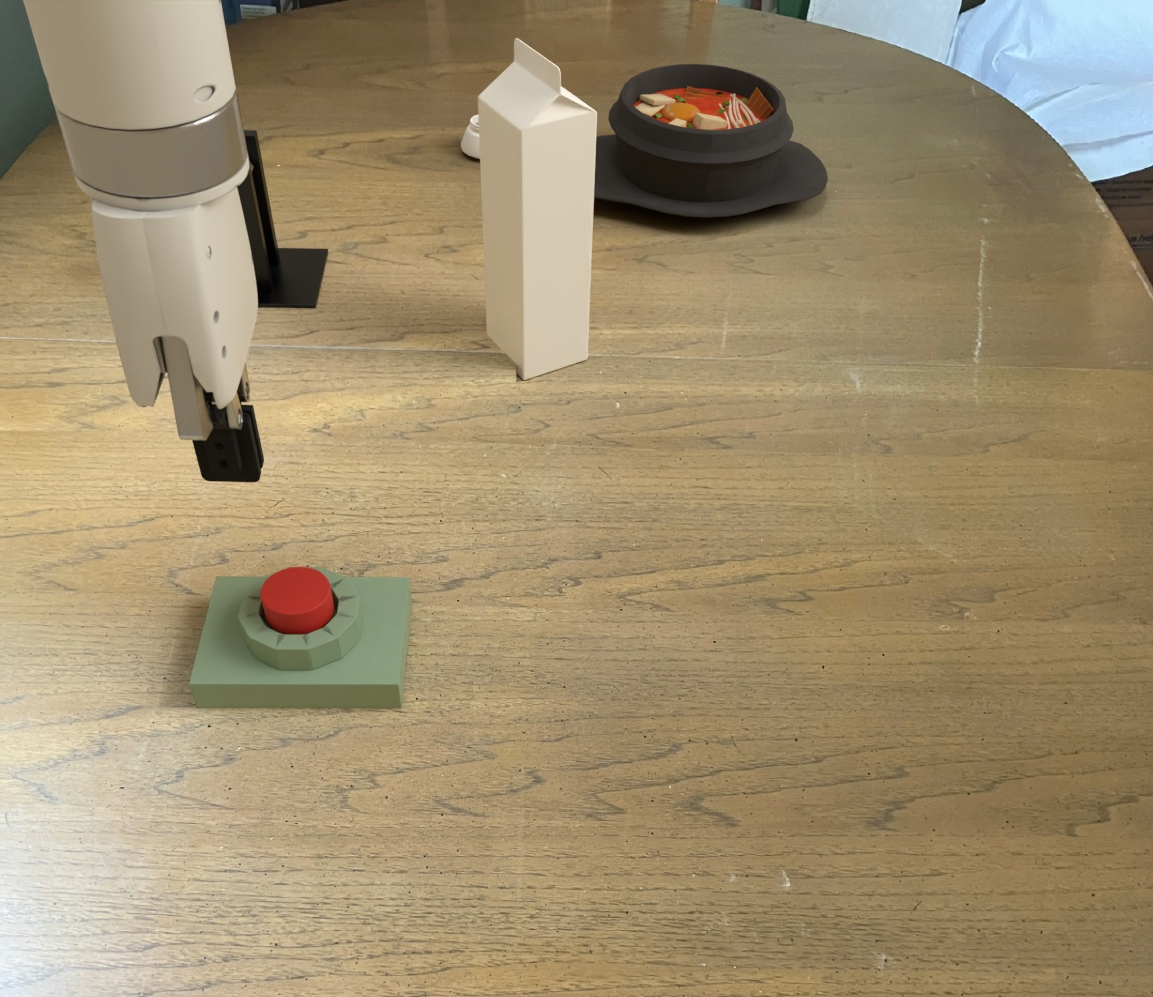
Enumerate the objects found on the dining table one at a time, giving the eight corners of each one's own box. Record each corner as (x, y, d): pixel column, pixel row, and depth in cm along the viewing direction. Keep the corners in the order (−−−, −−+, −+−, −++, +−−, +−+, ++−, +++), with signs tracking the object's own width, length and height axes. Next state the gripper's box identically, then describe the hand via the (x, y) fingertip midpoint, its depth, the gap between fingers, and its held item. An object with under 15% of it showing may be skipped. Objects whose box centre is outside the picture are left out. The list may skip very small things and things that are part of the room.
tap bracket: (169, 316, 94) (129, 170, 85) (190, 259, 99) (155, 116, 90) (317, 318, 94) (294, 172, 85) (329, 261, 100) (309, 119, 91)
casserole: (806, 145, 117) (822, 55, 110) (840, 238, 105) (860, 143, 98) (560, 143, 115) (561, 51, 109) (566, 236, 104) (568, 140, 97)
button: (260, 635, 66) (255, 614, 65) (270, 587, 69) (265, 565, 68) (330, 635, 67) (326, 614, 65) (337, 587, 69) (334, 566, 68)
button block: (197, 708, 68) (180, 662, 64) (223, 601, 73) (209, 554, 70) (402, 709, 68) (395, 663, 65) (412, 602, 74) (406, 555, 71)
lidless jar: (516, 160, 113) (506, 138, 116) (516, 129, 110) (505, 107, 114) (466, 164, 112) (457, 141, 115) (465, 133, 110) (455, 111, 113)
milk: (549, 324, 95) (554, 27, 78) (588, 361, 91) (602, 59, 74) (484, 344, 92) (474, 43, 75) (522, 382, 89) (520, 76, 72)
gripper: (108, 61, 55) (191, 391, 69) (19, 219, 45) (136, 563, 60) (268, 67, 55) (318, 395, 69) (212, 226, 46) (283, 566, 60)
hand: (234, 472), depth 64 cm, fingers closed
